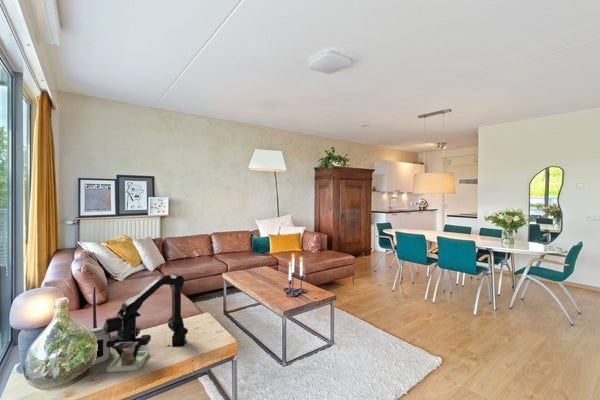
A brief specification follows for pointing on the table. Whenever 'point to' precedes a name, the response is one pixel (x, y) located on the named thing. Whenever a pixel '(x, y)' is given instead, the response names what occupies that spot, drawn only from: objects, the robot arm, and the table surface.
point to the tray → (117, 367)
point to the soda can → (119, 333)
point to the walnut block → (127, 357)
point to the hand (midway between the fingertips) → (128, 357)
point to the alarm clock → (101, 345)
